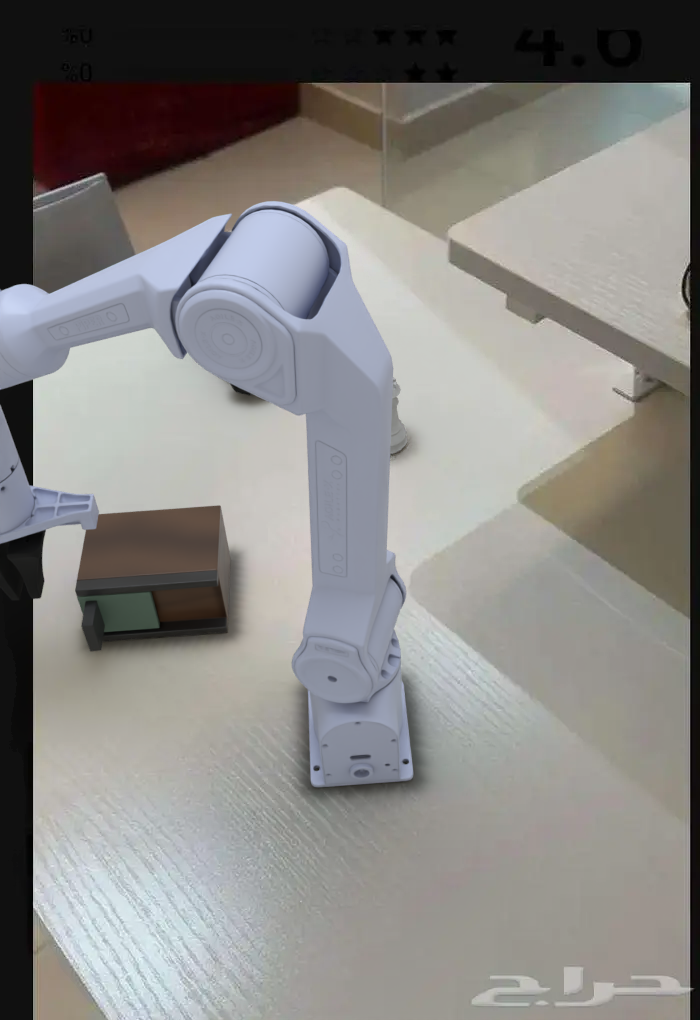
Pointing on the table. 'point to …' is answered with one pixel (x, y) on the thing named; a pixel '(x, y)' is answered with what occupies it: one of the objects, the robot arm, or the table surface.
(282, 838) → the table surface
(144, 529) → the closet
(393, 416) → the rook chess piece
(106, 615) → the closet door
